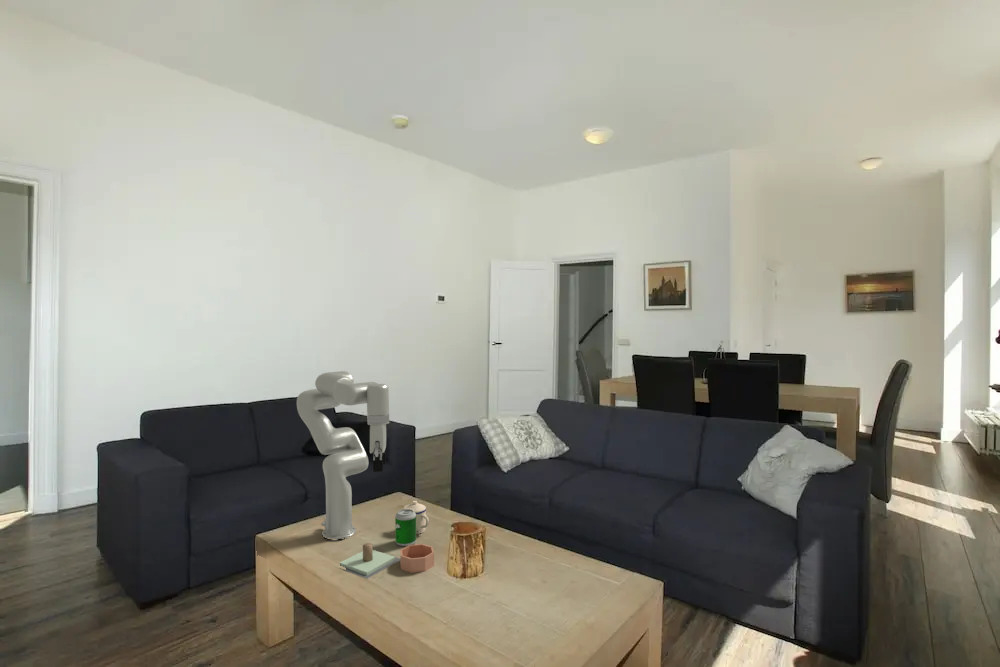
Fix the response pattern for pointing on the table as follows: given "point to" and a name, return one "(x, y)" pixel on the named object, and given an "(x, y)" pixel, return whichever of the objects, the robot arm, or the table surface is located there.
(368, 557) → the lid
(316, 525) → the table surface
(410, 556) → the bowl
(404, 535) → the soda can
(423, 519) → the teacup with lid
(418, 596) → the table surface
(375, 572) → the mat
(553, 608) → the table surface
